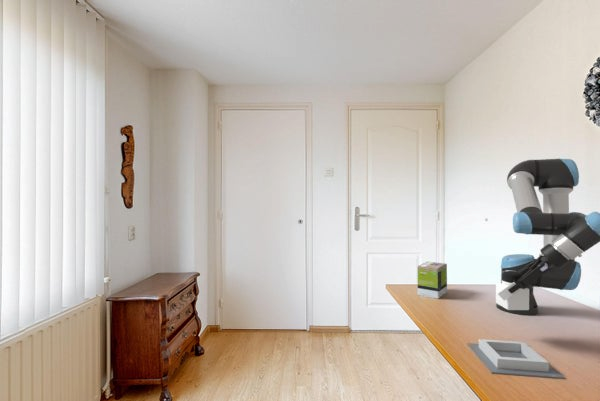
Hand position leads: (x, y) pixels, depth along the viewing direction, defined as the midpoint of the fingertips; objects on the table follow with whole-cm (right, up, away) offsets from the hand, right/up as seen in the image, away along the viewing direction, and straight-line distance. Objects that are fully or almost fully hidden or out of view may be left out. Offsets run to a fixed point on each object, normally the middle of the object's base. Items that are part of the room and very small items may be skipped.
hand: (501, 293), depth 114 cm
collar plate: (-8, -15, -17) cm, 24 cm away
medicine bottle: (+3, -4, -2) cm, 5 cm away
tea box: (-4, -15, +50) cm, 52 cm away
